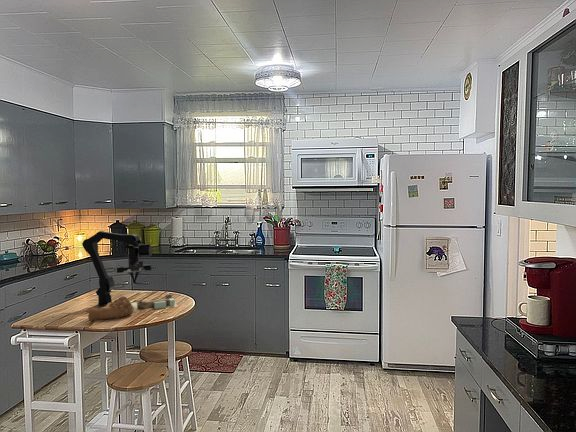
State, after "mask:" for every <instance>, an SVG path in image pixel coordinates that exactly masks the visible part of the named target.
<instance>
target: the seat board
mask: <svg viewBox="0 0 576 432" xmlns="http://www.w3.org/2000/svg"><path fill="white" fill-rule="evenodd" d="M164 296H165V299H170V298H173V297H172V296H173V295H172V294H171V293H166V294H165V295H164ZM137 302H138V301H136V302H135V301H134V302H130V303H131V305H132V307H133V311H134V312H139V311H140V312H141V311H150V310H156V309H155V308H154V307H150V308H143V309H138V308H137ZM174 307H175V308H176V307H179V306H178V304H177V303H176V302H175V306H170V305H166V308H168V309H169V308H174ZM166 308H165V309H166ZM158 309H160V308H158ZM158 309H157V310H158Z"/></svg>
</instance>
